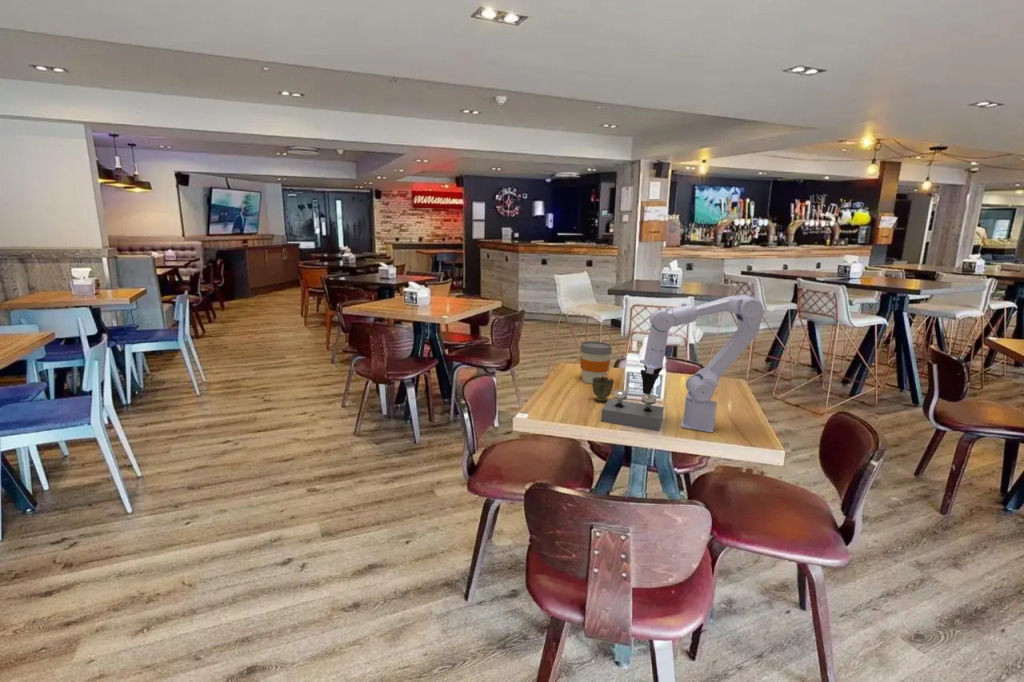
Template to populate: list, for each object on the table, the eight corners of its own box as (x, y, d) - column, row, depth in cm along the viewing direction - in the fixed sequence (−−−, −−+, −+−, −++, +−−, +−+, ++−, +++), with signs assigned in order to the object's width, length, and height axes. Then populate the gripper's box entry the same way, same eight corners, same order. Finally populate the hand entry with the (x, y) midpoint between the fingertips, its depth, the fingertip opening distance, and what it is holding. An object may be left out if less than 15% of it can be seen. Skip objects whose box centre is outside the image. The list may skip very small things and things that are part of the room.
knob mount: (662, 418, 170) (663, 407, 169) (659, 431, 159) (660, 418, 158) (607, 409, 176) (608, 398, 175) (600, 421, 165) (601, 409, 164)
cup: (586, 399, 186) (588, 378, 184) (600, 396, 191) (601, 375, 189) (602, 405, 180) (604, 383, 179) (616, 401, 185) (618, 380, 184)
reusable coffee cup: (611, 385, 204) (615, 348, 201) (580, 384, 204) (582, 347, 201) (605, 377, 217) (608, 342, 214) (575, 375, 216) (578, 340, 213)
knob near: (655, 408, 166) (657, 395, 165) (654, 413, 162) (655, 399, 161) (641, 406, 168) (642, 393, 167) (639, 410, 164) (641, 396, 163)
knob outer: (627, 404, 169) (628, 391, 168) (625, 408, 165) (626, 394, 164) (613, 402, 171) (614, 389, 170) (611, 406, 167) (612, 392, 166)
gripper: (645, 342, 169) (638, 382, 172) (639, 350, 156) (631, 393, 159) (667, 346, 167) (659, 387, 170) (663, 355, 153) (655, 398, 156)
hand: (647, 390), depth 164 cm, fingers open, 7 cm apart
